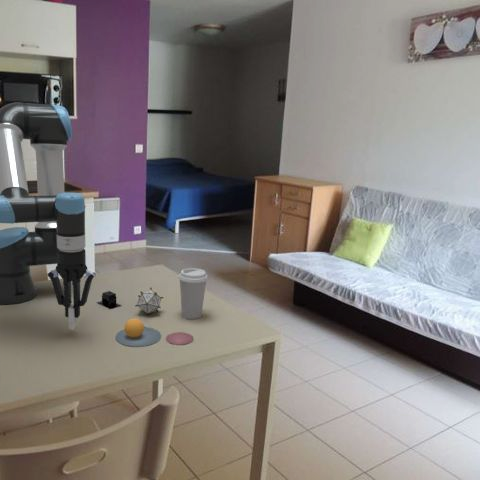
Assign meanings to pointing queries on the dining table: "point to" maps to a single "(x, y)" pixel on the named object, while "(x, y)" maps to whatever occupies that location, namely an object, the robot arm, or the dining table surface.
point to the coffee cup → (192, 292)
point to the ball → (134, 328)
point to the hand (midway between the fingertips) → (72, 327)
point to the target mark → (139, 338)
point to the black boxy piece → (109, 300)
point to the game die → (149, 301)
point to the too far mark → (179, 338)
